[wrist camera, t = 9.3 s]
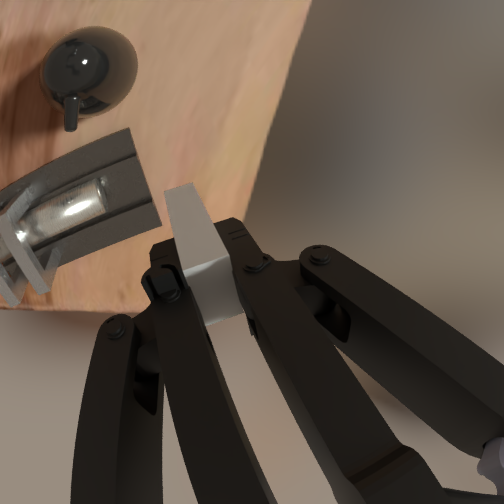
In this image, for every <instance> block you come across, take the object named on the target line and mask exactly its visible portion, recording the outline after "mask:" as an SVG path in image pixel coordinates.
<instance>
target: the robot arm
mask: <svg viewBox="0 0 504 504" xmlns="http://www.w3.org/2000/svg"><path fill="white" fill-rule="evenodd" d="M164 195H165V200H166V204H167V209H168V213H169V218H170V222H171V226H172V230H173V235H174V238H171V239H168V240H165V241H162V242H160V243H157V244H154V245H153V246H152V249H151V251H150V253H149V254H150V263H151V267H150V268H149V269H148V270H147V271H146V272H145V273H144V275H143V276H142V279H141V284H142V286H143V288H144V290H145V292H146V293H147V295H148V297H149V299H150V301H151V304H150V305H149V306H148V307H147V308H146V309H145V310H144V311H143V312H141V313H140V314H138V315H137V316H136V317H134V318H131V317H130V316H127V315H125V314H118V315H114V316H112V317H110V318H108V319H107V320H106V321H105V322H104V323H103V324H102V325H101V327H100V329H99V331H98V334H97V337H96V341H95V346H94V349H93V353H92V357H91V361H90V366H89V370H88V374H87V379H86V383H85V388H84V393H83V398H82V404H81V409H80V415H79V421H78V428H77V434H76V442H75V449H74V459H73V469H72V482H71V501H70V504H163V486H162V428H163V426H162V425H163V400H164V383H165V388H166V392H167V397H168V401H169V406H170V410H171V414H172V418H173V422H174V426H175V430H176V434H177V437H178V441H179V445H180V448H181V452H182V455H183V458H184V462H185V465H186V468H187V472H188V475H189V478H190V481H191V484H192V487H193V490H194V493H195V496H196V498H197V501H198V504H278V503H277V501H276V499H275V497H274V495H273V493H272V491H271V489H270V486H269V484H268V482H267V480H266V478H265V476H264V473H263V471H262V469H261V467H260V465H259V462H258V460H257V458H256V455H255V453H254V451H253V448H252V446H251V444H250V442H249V439H248V437H247V434H246V432H245V429H244V427H243V425H242V422H241V420H240V417H239V415H238V412H237V410H236V407H235V404H234V402H233V400H232V397H231V394H230V392H229V389H228V386H227V384H226V381H225V378H224V376H223V373H222V370H221V368H220V365H219V362H218V359H217V356H216V353H215V351H214V348H213V345H212V342H211V339H210V337H209V334H208V332H207V330H206V327H205V326H208V325H210V324H213V323H216V322H219V321H222V320H225V319H227V318H230V317H233V316H236V315H238V314H241V313H244V312H243V309H244V311H245V314H246V317H247V321H248V325H249V329H250V333H251V335H254V337H255V339H256V341H257V343H258V345H259V347H260V349H261V352H262V353H263V356H264V358H265V360H266V362H267V364H268V366H269V368H270V370H271V372H272V374H273V376H274V378H275V380H276V382H277V384H278V386H279V388H280V390H281V392H282V394H283V396H284V398H285V400H286V402H287V404H288V406H289V408H290V410H291V412H292V414H293V416H294V418H295V420H296V422H297V424H298V426H299V428H300V429H301V431H302V433H303V435H304V437H305V439H306V441H307V443H308V445H309V447H310V449H311V450H312V452H313V454H314V456H315V458H316V460H317V462H318V464H319V465H320V467H321V469H322V471H323V473H324V475H325V476H326V478H327V480H328V482H329V484H330V486H331V488H332V491H333V494H334V496H335V499H336V501H337V502H338V504H504V365H503V364H501V363H500V362H499V361H497V360H496V359H495V358H494V357H492V356H491V355H490V354H488V353H487V352H486V351H484V350H483V349H482V348H480V347H479V346H477V345H476V344H475V343H474V342H472V341H471V340H469V339H468V338H467V337H465V336H464V335H463V334H461V333H460V332H458V331H457V330H456V329H454V328H453V327H451V326H450V325H449V324H447V323H446V322H444V321H443V320H441V319H440V318H439V317H437V316H436V315H434V314H433V313H432V312H430V311H429V310H427V309H426V308H424V307H423V306H421V305H420V304H419V303H417V302H416V301H414V300H413V299H411V298H410V297H408V296H407V295H405V294H404V293H402V292H401V291H399V290H398V289H396V288H395V287H393V286H392V285H390V284H388V283H387V282H386V281H384V280H383V279H381V278H379V277H378V276H376V275H375V274H373V273H372V272H370V271H369V270H367V269H366V268H364V267H362V266H361V265H359V264H358V263H356V262H355V261H353V260H351V259H350V258H348V257H347V256H345V255H344V254H342V253H340V252H339V251H337V250H336V249H334V248H332V247H329V246H326V245H313V246H310V247H308V248H306V249H304V250H303V251H302V252H301V254H300V256H299V260H292V261H276V260H274V259H273V258H272V257H271V256H270V255H268V254H265V253H263V252H262V251H261V249H260V248H259V246H258V245H257V244H256V242H255V241H254V239H253V238H252V236H251V235H250V234H249V232H248V231H247V229H246V228H245V226H244V225H243V223H242V222H241V221H240V220H237V219H235V218H233V217H232V218H229V219H226V220H223V221H220V222H216V223H213V222H212V220H211V218H210V216H209V214H208V212H207V210H206V208H205V206H204V204H203V202H202V200H201V198H200V196H199V194H198V192H197V190H196V188H195V186H194V184H193V182H192V183H189V184H186V185H182V186H179V187H176V188H173V189H170V190H167V191H164ZM242 307H243V308H242ZM333 344H334V345H335V346H336V347H337V348H339V349H340V350H341V351H342V352H343V353H344V354H346V356H348V357H349V358H350V359H351V360H352V361H353V362H355V363H356V364H357V365H358V366H359V367H360V368H361V369H363V370H364V371H365V372H366V373H367V374H368V375H370V376H371V377H372V378H373V379H374V380H376V381H377V382H378V383H379V384H380V385H381V386H382V387H384V388H385V389H386V390H387V391H388V392H389V393H391V394H392V395H393V396H394V397H395V398H397V399H398V400H399V401H400V402H401V403H403V404H404V405H405V406H406V407H407V408H408V409H410V410H411V411H412V412H413V413H414V414H415V415H417V416H418V417H419V418H420V419H422V420H423V421H424V422H425V423H426V424H427V425H429V426H430V427H431V428H432V429H433V430H435V431H436V432H437V433H438V434H439V435H441V436H442V437H443V438H444V439H445V440H447V441H448V442H449V443H451V444H452V445H453V446H455V447H456V448H457V449H459V450H461V451H463V452H465V453H467V454H468V455H471V456H474V457H477V458H480V459H481V460H480V461H479V463H478V465H477V471H478V473H479V474H480V475H484V476H485V477H486V478H487V479H489V480H491V481H492V482H493V483H494V484H495V486H496V488H497V495H490V494H480V493H474V492H467V491H460V490H454V489H449V488H442V486H441V485H440V483H439V482H438V480H437V479H436V477H435V476H434V474H433V473H432V471H431V469H430V468H429V466H428V465H427V463H426V462H425V460H424V459H423V458H422V457H421V456H420V455H419V453H418V452H416V451H415V450H414V449H413V448H411V447H408V446H405V445H403V444H402V443H401V442H399V440H398V439H397V438H396V437H395V435H394V433H393V432H392V430H391V429H390V427H389V426H388V424H387V423H386V421H385V420H384V418H383V417H382V415H381V414H380V413H379V411H378V409H377V408H376V406H375V405H374V403H373V402H372V401H371V399H370V398H369V396H368V395H367V393H366V392H365V390H364V389H363V387H362V386H361V384H360V383H359V381H358V380H357V378H356V377H355V375H354V374H353V373H352V371H351V369H350V368H349V367H348V365H347V364H346V362H345V361H344V359H343V358H342V356H341V355H340V354H339V352H338V351H337V349H336V348H335V346H334V345H333Z"/></svg>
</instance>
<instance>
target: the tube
mask: <svg viewBox="0 0 504 504" xmlns="http://www.w3.org/2000/svg"><path fill="white" fill-rule="evenodd" d="M107 212H108V203H107V199H106V195H105V192H104V190H103V187H102V185H101V183H100V181H99V180H98V179H97V178H95V179H93V180H91V181H88V182H86V183H84V184H82V185H79V186H77V187H75V188H73V189H71V190H69V191H67V192H65V193H62V194H60V195H58V196H56V197H54V198H52V199H50V200H48V201H46V202H44V203H43V204H41V205H39V206H37V207H35V208H33V209H31V210H29V211H28V212H26V213H24V214H23V215H22V217H21V218H20V219H19V221H18V222H17V223H18V225H19V227H20V229H21V231H22V233H23V235H24V237H25V238H26V240H27V242H28V244H29V245H30V247H32V246H34V245H36V244H38V243H40V242H42V241H44V240H46V239H48V238H50V237H53V236H55V235H57V234H59V233H61V232H63V231H65V230H68V229H70V228H72V227H74V226H76V225H79V224H81V223H83V222H85V221H88V220H90V219H92V218H95V217H97V216H99V215H102V214H104V213H107ZM11 257H13V255H12V253H11V252H10V250H9V248H8V247H7V245H6V243H5V241H4V240H3V238H2V236H1V234H0V262H3V261H5V260H7V259H9V258H11Z"/></svg>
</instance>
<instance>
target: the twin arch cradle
mask: <svg viewBox="0 0 504 504" xmlns="http://www.w3.org/2000/svg"><path fill="white" fill-rule="evenodd" d="M95 178H97V179H98V180H99V181H100V183H101V185H102V187H103V190H104V192H105V195H106V199H107V203H108V212H107V213H104V214H102V215H99V216H97V217H95V218H92V219H90V220H88V221H85V222H83V223H81V224H79V225H76V226H74V227H72V228H70V229H68V230H65V231H63V232H61V233H59V234H57V235H55V236H53V237H50V238H48V239H46V240H44V241H42V242H40V243H38V244H36V245H34V246H32V247H30V245H29V244H28V242H27V240H26V238H25V237H24V235H23V233H22V231H21V229H20V227H19V225H18V223H17V222H18V221H19V219H20V218H21V217H22V215H23V214H24V213H26V212H28V211H29V210H31V209H33V208H35V207H37V206H39V205H41V204H43V203H44V202H46V201H48V200H50V199H52V198H54V197H56V196H58V195H60V194H62V193H65V192H67V191H69V190H71V189H73V188H75V187H77V186H79V185H82V184H84V183H86V182H88V181H91V180H93V179H95ZM159 226H162V222H161V220H160V217H159V214H158V212H157V209H156V206H155V203H154V201H153V198H152V195H151V192H150V189H149V187H148V184H147V181H146V178H145V175H144V172H143V169H142V166H141V163H140V160H139V157H138V154H137V151H136V148H135V145H134V141H133V138H132V135H131V132H130V128H129V127H128V128H126V129H123V130H121V131H118V132H115V133H113V134H110V135H108V136H106V137H103V138H101V139H98V140H96V141H94V142H91V143H89V144H87V145H85V146H82V147H80V148H78V149H76V150H74V151H72V152H70V153H67V154H65V155H63V156H61V157H59V158H57V159H55V160H53V161H51V162H49V163H48V164H46V165H44V166H42V167H40V168H38V169H36V170H34V171H33V172H31V173H29V174H27V175H26V176H24V177H22V178H20V179H19V180H17V181H15V182H14V183H12V184H10V185H9V186H7V187H6V188H4V189H2V190H1V191H0V234H1V236H2V238H3V240H4V241H5V243H6V245H7V247H8V248H9V250H10V252H11V253H12V255H13V257H11V258H9V259H7V260H5V261H3V262H2V263H3V264H4V265H2V264H1V262H0V293H1V295H2V296H3V298H4V299H5V300H6V302H7V303H8V304H9V306H10V307H13V306H15V305H18V304H20V303H21V300H22V298H23V295H24V292H25V289H26V287H27V284H28V282H30V283H31V285H32V286H33V288H34V289H35V291H36V292H37V293H38V295H41V294H43V293H46V292H48V291H50V290H51V287H52V283H53V280H54V277H55V274H56V271H57V267H59V266H61V265H64V264H66V263H68V262H71V261H73V260H75V259H78V258H80V257H83V256H85V255H87V254H90V253H92V252H95V251H97V250H100V249H102V248H105V247H107V246H110V245H112V244H115V243H117V242H120V241H122V240H125V239H127V238H130V237H133V236H135V235H138V234H141V233H143V232H146V231H149V230H151V229H154V228H157V227H159ZM7 271H8V272H9V274H10V275H11V278H10V276H9V275H8V273H7Z"/></svg>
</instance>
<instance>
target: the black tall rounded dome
mask: <svg viewBox="0 0 504 504" xmlns="http://www.w3.org/2000/svg"><path fill="white" fill-rule="evenodd" d="M137 71H138V59H137V54H136V51H135V49H134V47H133V45H132V44H131V42H130V41H129V40H128V39H127V38H126V37H125V36H124V35H122V34H121V33H119V32H117V31H115V30H113V29H110V28H106V27H101V26H89V27H84V28H80V29H77V30H74V31H72V32H70V33H68V34H66V35H65V36H63V37H62V38H60V39H59V40H58V41H57V42H56V43H54V45H53V46H52V47H51V48H50V49H49V50H48V52H47V53H46V55H45V57H44V59H43V61H42V64H41V67H40V72H39V84H40V88H41V91H42V93H43V96H44V97H45V99H46V100H47V102H48V103H49V104H50V105H51V106H52V107H53V108H54V109H55V110H57V111H58V112H60V113H62V114H64V128H65V131H66V132H73V131H75V130H76V129H77V126H78V118H90V117H95V116H99V115H101V114H104V113H106V112H108V111H110V110H111V109H113V108H114V107H116V106H117V105H118V104H119V103H121V102H122V101H123V100H124V98H125V97H126V96H127V95H128V93H129V92H130V90H131V89H132V87H133V85H134V82H135V80H136V76H137Z"/></svg>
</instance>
